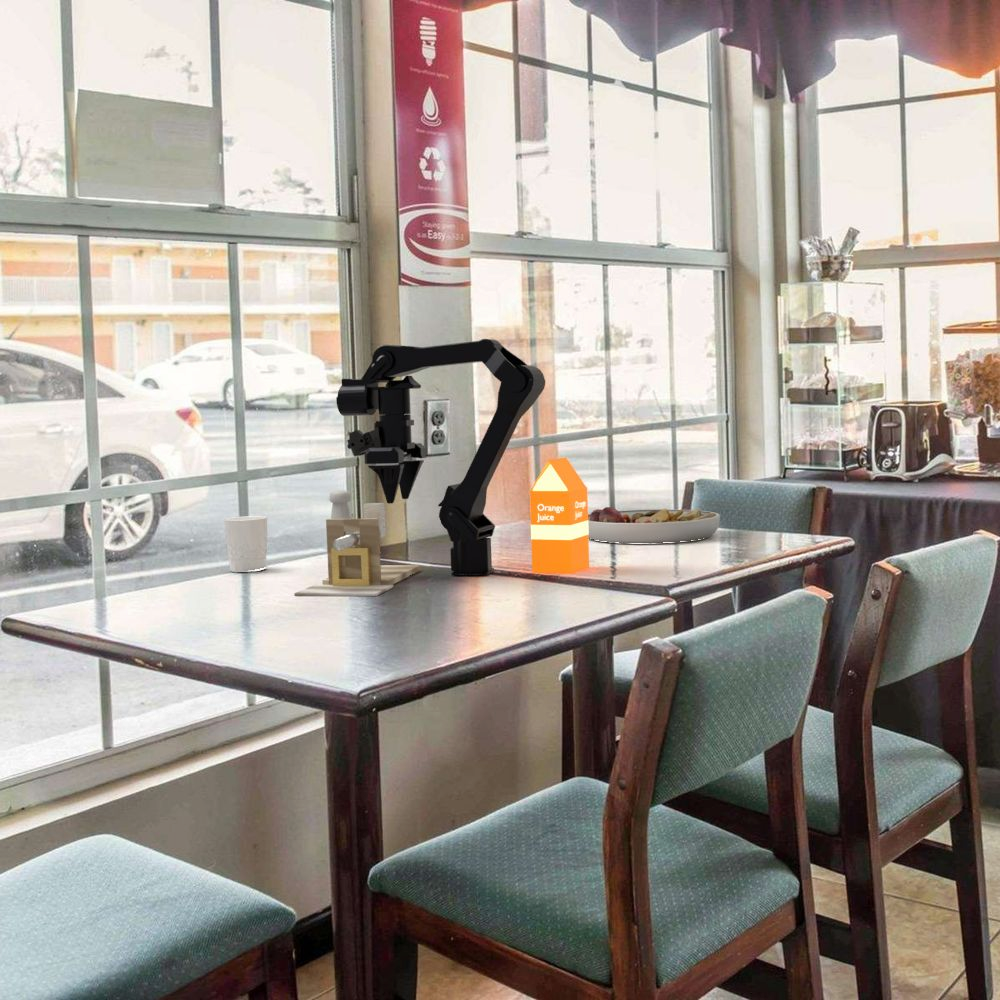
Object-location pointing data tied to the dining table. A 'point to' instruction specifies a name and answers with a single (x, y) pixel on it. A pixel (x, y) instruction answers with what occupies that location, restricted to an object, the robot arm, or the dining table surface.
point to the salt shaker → (340, 506)
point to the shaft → (353, 539)
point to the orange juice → (559, 520)
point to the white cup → (246, 542)
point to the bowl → (651, 525)
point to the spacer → (365, 567)
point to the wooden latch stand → (358, 562)
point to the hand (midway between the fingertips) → (397, 501)
